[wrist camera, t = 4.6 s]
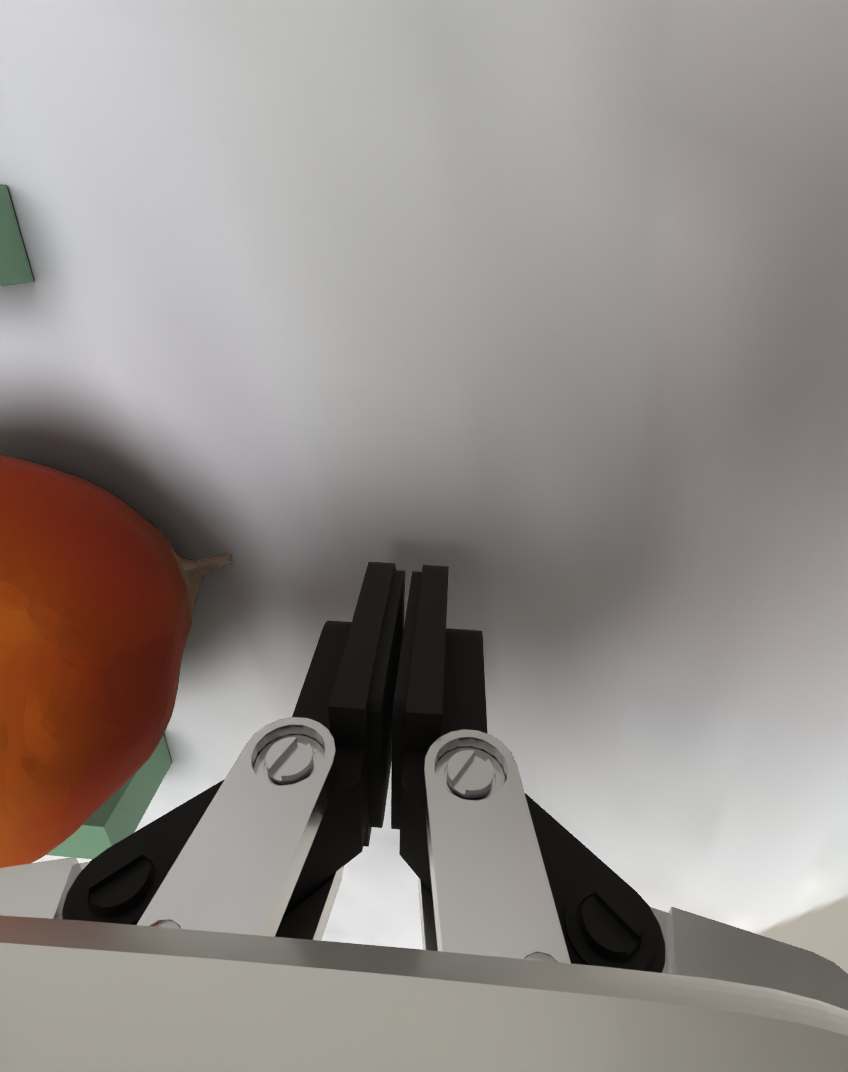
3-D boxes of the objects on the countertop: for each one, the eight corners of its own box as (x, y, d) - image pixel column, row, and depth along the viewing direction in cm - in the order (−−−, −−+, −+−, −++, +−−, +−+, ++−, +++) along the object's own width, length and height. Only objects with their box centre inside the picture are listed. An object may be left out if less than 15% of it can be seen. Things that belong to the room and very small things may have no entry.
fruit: (234, 782, 15) (-197, 1093, 8) (77, 592, 17) (-358, 714, 10) (350, 563, 11) (-274, 809, 4) (128, 358, 13) (-498, 316, 7)
